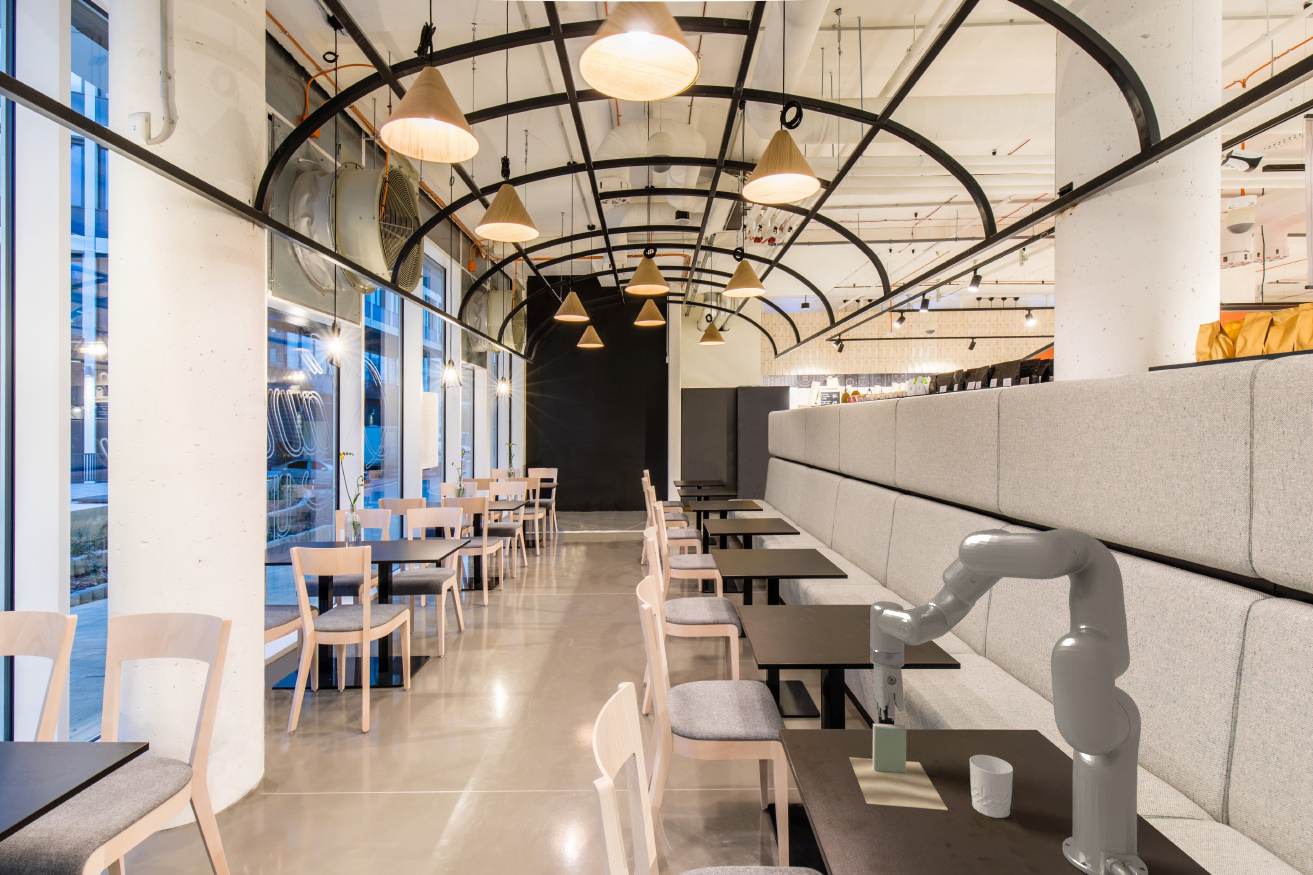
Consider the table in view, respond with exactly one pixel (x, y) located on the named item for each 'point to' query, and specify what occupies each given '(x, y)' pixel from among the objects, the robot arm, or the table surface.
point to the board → (897, 786)
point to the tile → (889, 748)
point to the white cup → (991, 785)
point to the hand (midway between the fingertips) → (886, 735)
